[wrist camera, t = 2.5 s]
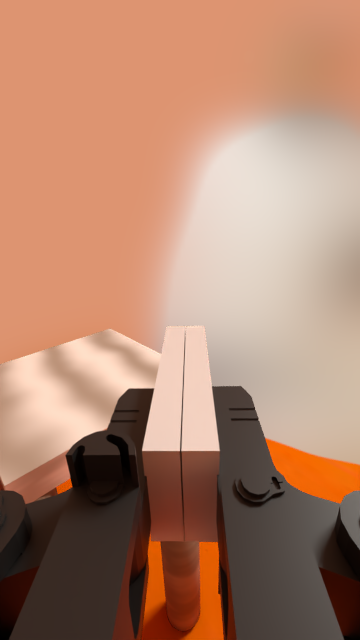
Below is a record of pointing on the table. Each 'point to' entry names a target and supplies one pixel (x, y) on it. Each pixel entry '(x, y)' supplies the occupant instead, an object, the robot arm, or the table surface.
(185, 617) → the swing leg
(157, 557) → the table surface
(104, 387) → the stool
